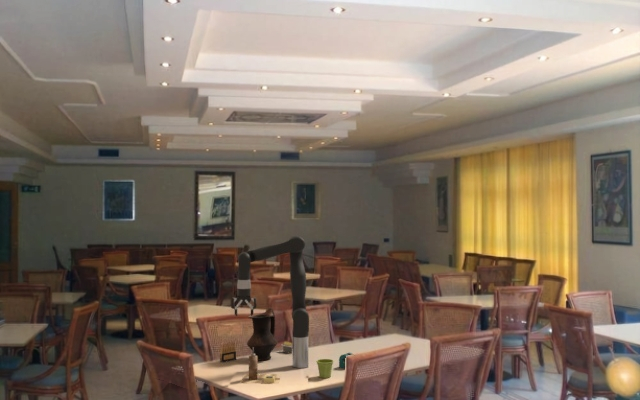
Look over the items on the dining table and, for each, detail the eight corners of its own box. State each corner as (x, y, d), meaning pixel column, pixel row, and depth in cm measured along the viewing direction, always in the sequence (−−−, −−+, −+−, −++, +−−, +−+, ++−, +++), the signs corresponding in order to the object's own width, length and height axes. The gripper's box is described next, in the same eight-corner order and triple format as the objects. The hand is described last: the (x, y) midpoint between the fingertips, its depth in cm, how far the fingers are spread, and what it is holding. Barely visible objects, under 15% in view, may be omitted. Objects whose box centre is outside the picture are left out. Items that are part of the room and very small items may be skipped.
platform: (285, 349, 420) (285, 339, 420) (305, 353, 407) (305, 343, 407) (272, 352, 411) (272, 342, 411) (291, 356, 398) (291, 346, 398)
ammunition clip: (221, 362, 382) (221, 342, 382) (219, 362, 383) (219, 341, 383) (236, 359, 389) (236, 339, 389) (234, 359, 390) (234, 339, 391)
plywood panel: (280, 376, 349) (280, 374, 349) (278, 385, 331) (278, 383, 331) (244, 376, 349) (244, 374, 349) (240, 385, 331) (240, 383, 331)
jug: (265, 364, 378) (265, 312, 378) (240, 360, 387) (240, 310, 388) (285, 357, 395) (285, 308, 396) (261, 353, 405) (261, 306, 406)
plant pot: (319, 379, 342) (319, 363, 342) (314, 375, 351) (314, 359, 352) (335, 378, 345) (335, 362, 345) (330, 374, 354) (330, 358, 354)
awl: (257, 377, 341) (257, 346, 342) (257, 380, 337) (257, 348, 337) (249, 377, 341) (249, 346, 342) (248, 380, 337) (248, 348, 337)
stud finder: (274, 379, 338) (274, 375, 338) (274, 382, 332) (274, 378, 332) (265, 379, 338) (265, 375, 338) (264, 382, 332) (264, 378, 332)
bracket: (339, 367, 369) (339, 354, 369) (345, 365, 374) (345, 351, 375) (365, 372, 359) (365, 358, 359) (372, 369, 364) (372, 355, 364)
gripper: (230, 288, 363) (230, 317, 363) (255, 288, 363) (255, 317, 363) (232, 286, 371) (232, 314, 370) (257, 286, 371) (257, 314, 370)
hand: (244, 315), depth 367 cm, fingers open, 8 cm apart
